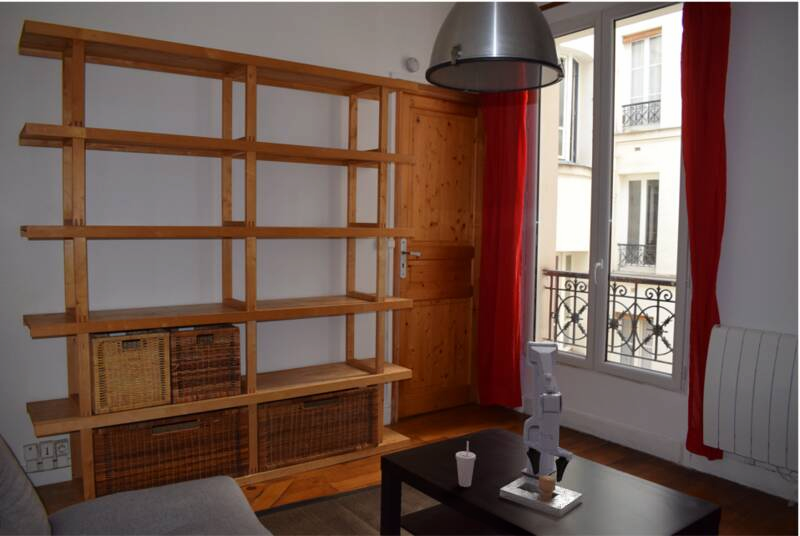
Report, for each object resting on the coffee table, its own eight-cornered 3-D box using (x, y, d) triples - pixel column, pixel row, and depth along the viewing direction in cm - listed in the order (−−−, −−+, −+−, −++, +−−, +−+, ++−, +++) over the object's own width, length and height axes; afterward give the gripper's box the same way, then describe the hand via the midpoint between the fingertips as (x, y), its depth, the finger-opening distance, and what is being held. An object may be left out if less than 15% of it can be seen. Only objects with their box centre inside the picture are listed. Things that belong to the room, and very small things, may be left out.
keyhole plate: (523, 482, 205) (523, 475, 204) (582, 501, 192) (582, 494, 191) (499, 496, 194) (500, 488, 194) (560, 517, 181) (560, 509, 181)
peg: (542, 496, 195) (543, 474, 194) (557, 500, 192) (558, 478, 191) (535, 501, 191) (536, 478, 191) (550, 506, 188) (551, 483, 188)
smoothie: (474, 489, 199) (475, 445, 198) (453, 487, 200) (454, 443, 199) (475, 481, 205) (477, 438, 204) (455, 479, 206) (457, 437, 205)
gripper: (520, 430, 192) (519, 474, 193) (565, 442, 182) (563, 488, 183) (532, 425, 197) (531, 467, 198) (576, 436, 188) (574, 481, 189)
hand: (547, 477), depth 191 cm, fingers open, 7 cm apart
